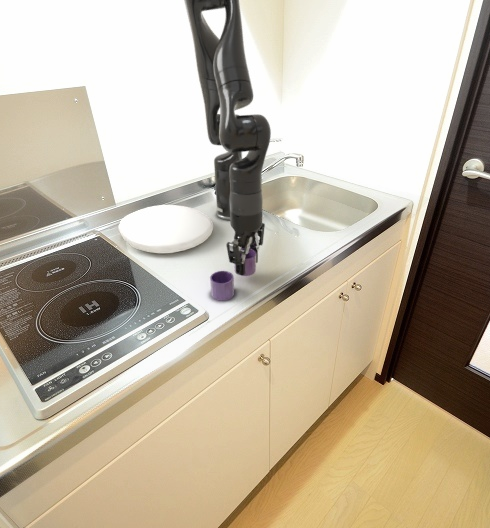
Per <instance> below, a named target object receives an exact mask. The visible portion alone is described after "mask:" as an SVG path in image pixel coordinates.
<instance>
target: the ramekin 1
mask: <svg viewBox="0 0 490 528" xmlns="http://www.w3.org/2000/svg"><path fill="white" fill-rule="evenodd" d="M209 279H210V280H209V281H210V292H211V297H212V299H214V300H216V301H218V302H219V301H220V302H221V301H222V302H223V301H225V302H226V301H228V300H231V299H232V298H233V297H234V295H235V281H234V280H235V277H234V274H233V273H232V272H230V271H228V270H218V271H215V272H213V273H211V275H210V277H209Z"/></svg>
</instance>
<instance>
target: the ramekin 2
mask: <svg viewBox="0 0 490 528" xmlns="http://www.w3.org/2000/svg"><path fill="white" fill-rule="evenodd" d="M239 248H240V247H239ZM240 249H241V250H245V249H244V248H240ZM239 254H240V253H239ZM241 256H242V254H240V258H241ZM233 267H234V273H235V274H236V275H238V276H241V277H249V276H252V275H254V274H255V273H256V271H257V263H256V252H255V251H254V250H253V249H250V248H249V251H248V254H247V255H246V257H245V274H244V275H243V276H242V275H239V274H237V273H236V264H234V263H233Z"/></svg>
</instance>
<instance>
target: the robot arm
mask: <svg viewBox="0 0 490 528" xmlns="http://www.w3.org/2000/svg"><path fill="white" fill-rule="evenodd" d="M183 1H184V5H185V10H186V14H187V19H188V23H189V26H190V31H191V38H192V42H193V48H194V55H195V64H196V71H197V75H198V81H199V85H200V89H201V94H202V100H203V105H204V113H205V124H206V125H205V126H206V133H207V138H208V141H209V142H210V144H211V145H214V146H221V147H222V148H223V149H224V150H225V152H224V153H221V154H218V155H216V156H215V157H214V159H213V166H214V167H213V168H214V169H213V170H214V183H215V200H216V215H217V218H219V219H222V220H226V221H227V220H228V221H229V222H230V227H231V228H232V230H233V231H234V236H233V241H232V242H229V241H227V243H226V250H227V251H226V252H227V257H228V261H229V263H230V264H233V265H234V264H236V272H235V274H236V273H237V274H236V275H238V274H239V275H238V276H241V275H242V276H241V277H244V276H243V275H244V274H245V257H246V255H247V254H248V251H249V248H250V249H253V250H254V251H255V252H256V264H258V262H259V250H260V246H263V244H264V235H265V227H266V224H265V222H263V203H264V202H263V200H264V199H263V190H262V188H263V187H262V185H263V184H262V180H263V178H262V175H263V167H264V164H265V160H266V157H267V156H266V155H267V153H268V150H269V146H270V142H271V137H272V135H271V134H272V131H271V130H272V129H271V125H270V123H269V121H268V119H267V118H266V117H265V116H264V115H262V114H256V113H255V114H243V115H241V114H236V113H235V112H236V111H238V110H241V109H243V108H246V107H248V106H249V105H251V103H252V102H253V101H254V91H253V86H252V81H251V75H250V72H249V67H248V62H247V57H246V51H245V45H244V44H245V43H244V41H245V40H244V33H243V32H244V31H243V22H242V21H243V20H242V14H241V4H240V0H183ZM214 10H225V19H224V26H223V28H222V32H221V35H220V37H218V36H217V35H216V34H215V32H214V31H213V30H212V29H211V27H210V26H209V24H208V22H207V21H206V19H205V17H204V15H203V12H207V11H214ZM244 152H247V154H246V155H245V157H243V153H244ZM240 248H244V249H245V250H241V249H240ZM239 253H240V254H242V256H241V258H240V254H239Z"/></svg>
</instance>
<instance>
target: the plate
mask: <svg viewBox="0 0 490 528" xmlns="http://www.w3.org/2000/svg"><path fill="white" fill-rule="evenodd" d="M213 229H214V222H213V221H212V220H211V218H210V217H209V216H208V215H207V214H206V213H204V212H202V211H201V210H198V209H196V208H193V207H190V206H185V205H184V206H183V205H178V204H177V205H175V204H160V205H153V206H152V205H151V206H147V207H144V208H141V209H139V210H138V209H137V210H136V211H134V212H131V213H129V214H127V215H125V216H124V217H123V218H122V219H121V220H120V222H119V224H118V231H119V233H120V235H121V237H122V239H123V240H124V241H125V242H126V243H127V244H128V245H129V246H131V247H132V248H134V249H137V250H139V251H142V252H146V253H154V254H173V253H178V252H182V251H186V250H189V249H193V248H195V247H197V246H200V245H201V244H203V243H205V241H206V240H207V239H208V238H210V236H212V233H213Z"/></svg>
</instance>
